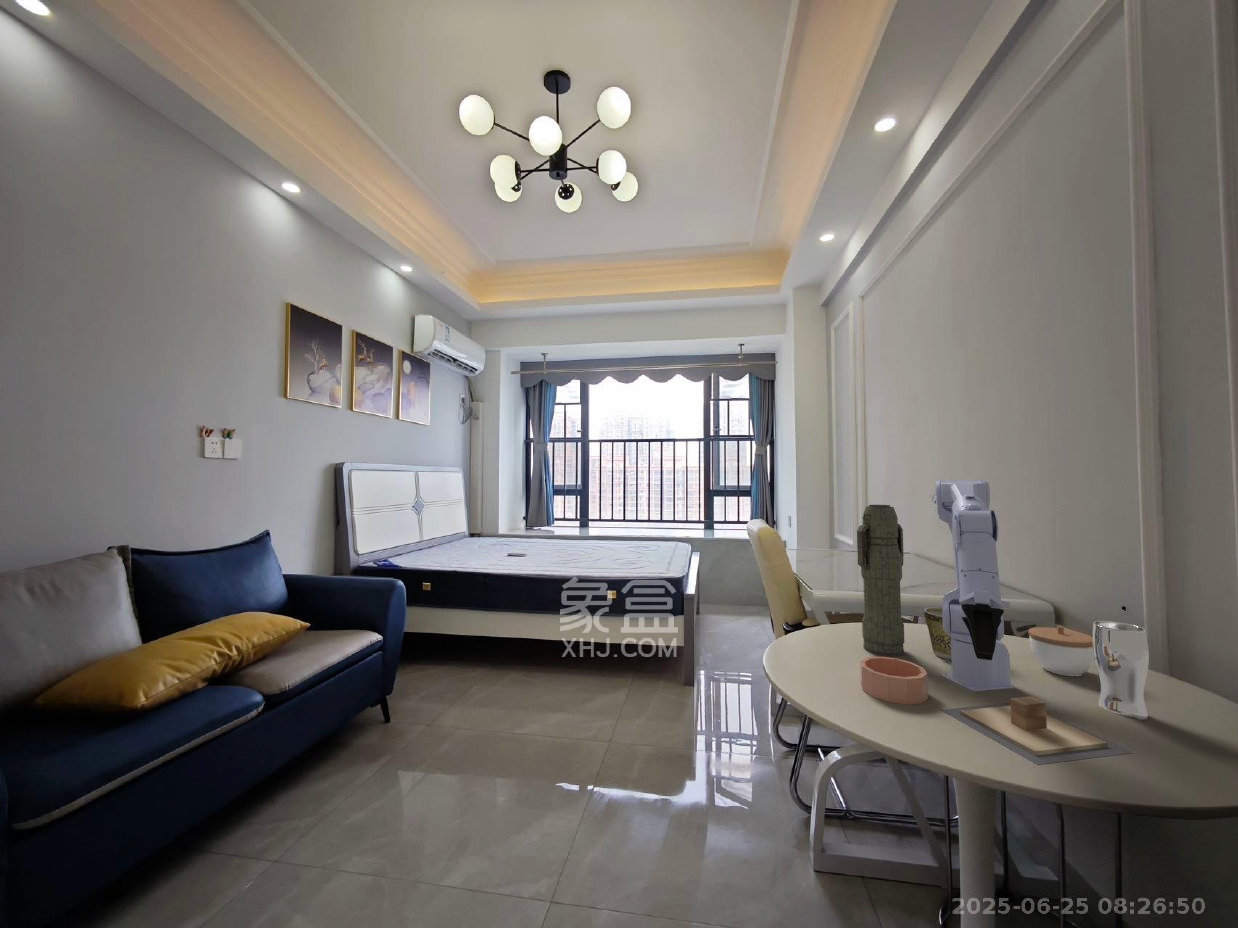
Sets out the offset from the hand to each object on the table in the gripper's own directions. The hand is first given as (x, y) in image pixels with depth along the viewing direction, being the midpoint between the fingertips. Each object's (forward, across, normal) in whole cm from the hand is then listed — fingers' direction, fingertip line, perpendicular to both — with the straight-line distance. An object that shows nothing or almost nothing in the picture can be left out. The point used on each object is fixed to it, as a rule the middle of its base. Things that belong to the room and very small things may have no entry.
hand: (985, 656), depth 81 cm
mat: (+10, +7, -5) cm, 13 cm away
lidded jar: (-4, +40, -14) cm, 43 cm away
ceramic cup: (-4, +40, +5) cm, 40 cm away
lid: (+10, +6, -5) cm, 13 cm away
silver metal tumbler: (+3, +24, -20) cm, 31 cm away
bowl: (+8, +11, +14) cm, 20 cm away
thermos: (-3, +35, +19) cm, 40 cm away
